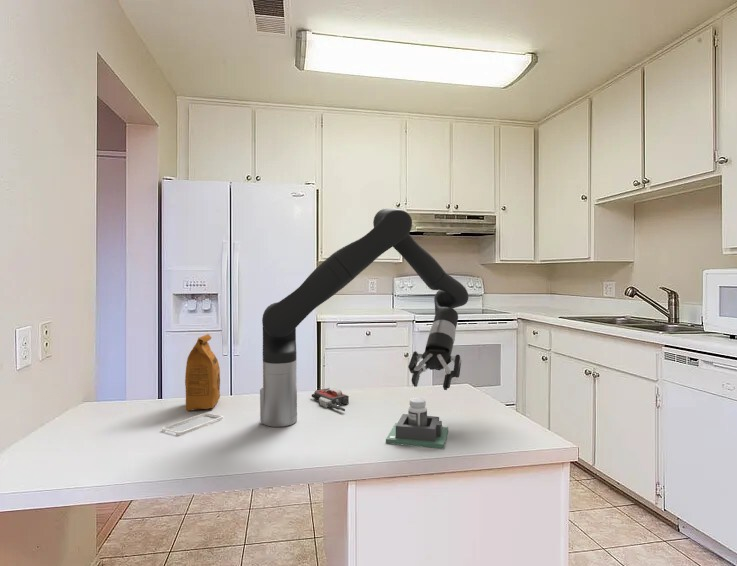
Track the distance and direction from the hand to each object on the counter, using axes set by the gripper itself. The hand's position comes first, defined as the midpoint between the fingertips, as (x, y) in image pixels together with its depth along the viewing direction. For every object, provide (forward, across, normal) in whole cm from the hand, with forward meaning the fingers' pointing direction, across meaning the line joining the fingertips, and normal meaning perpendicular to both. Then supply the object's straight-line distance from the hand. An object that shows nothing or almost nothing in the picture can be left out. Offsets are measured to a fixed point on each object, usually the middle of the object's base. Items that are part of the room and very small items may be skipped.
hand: (429, 386), depth 123 cm
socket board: (+14, 0, 0) cm, 14 cm away
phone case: (+27, -59, -11) cm, 66 cm away
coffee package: (+16, -70, -1) cm, 72 cm away
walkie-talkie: (+3, -33, +12) cm, 36 cm away
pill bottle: (+14, 0, 0) cm, 14 cm away
